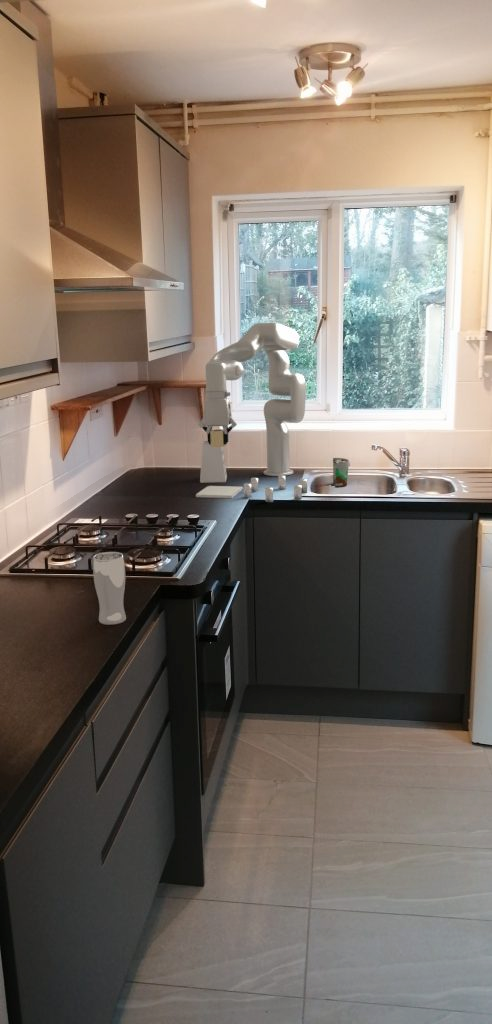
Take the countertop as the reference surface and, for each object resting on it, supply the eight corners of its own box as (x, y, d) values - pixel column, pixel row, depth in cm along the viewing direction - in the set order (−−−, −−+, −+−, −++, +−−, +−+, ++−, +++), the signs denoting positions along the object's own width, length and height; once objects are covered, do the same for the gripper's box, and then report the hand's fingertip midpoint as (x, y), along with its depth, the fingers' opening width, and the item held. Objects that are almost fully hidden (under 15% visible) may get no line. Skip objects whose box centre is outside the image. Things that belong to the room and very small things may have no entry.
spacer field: (255, 487, 321) (255, 474, 319) (310, 488, 315) (310, 476, 314) (239, 501, 297) (238, 487, 296) (298, 503, 292) (297, 489, 291)
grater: (202, 477, 343) (200, 430, 338) (227, 477, 343) (225, 429, 338) (199, 482, 333) (197, 433, 328) (225, 482, 332) (223, 433, 328)
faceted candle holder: (214, 444, 311) (213, 428, 309) (226, 444, 309) (226, 429, 308) (209, 447, 305) (209, 430, 304) (222, 447, 304) (221, 431, 303)
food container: (351, 488, 314) (351, 462, 312) (335, 488, 314) (335, 463, 312) (348, 481, 326) (348, 457, 324) (332, 482, 326) (332, 457, 324)
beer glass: (91, 624, 181) (86, 559, 177) (104, 613, 187) (100, 550, 184) (120, 626, 179) (116, 561, 176) (132, 615, 186) (129, 552, 182)
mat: (208, 488, 321) (208, 485, 321) (242, 489, 317) (242, 486, 317) (195, 497, 306) (195, 494, 306) (231, 498, 302) (231, 495, 302)
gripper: (241, 394, 304) (242, 442, 309) (197, 394, 309) (199, 442, 313) (235, 396, 297) (237, 445, 302) (191, 396, 302) (193, 445, 306)
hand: (218, 443), depth 307 cm, fingers closed on faceted candle holder, 5 cm apart
